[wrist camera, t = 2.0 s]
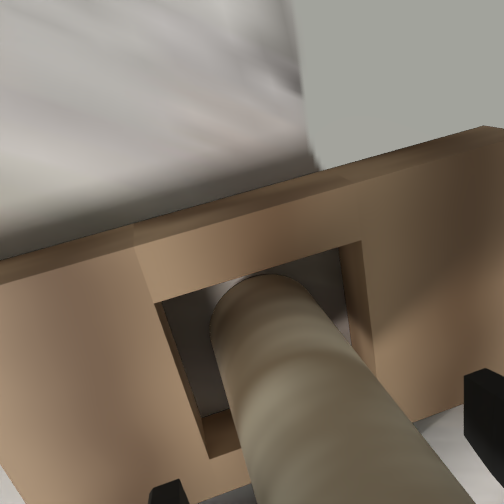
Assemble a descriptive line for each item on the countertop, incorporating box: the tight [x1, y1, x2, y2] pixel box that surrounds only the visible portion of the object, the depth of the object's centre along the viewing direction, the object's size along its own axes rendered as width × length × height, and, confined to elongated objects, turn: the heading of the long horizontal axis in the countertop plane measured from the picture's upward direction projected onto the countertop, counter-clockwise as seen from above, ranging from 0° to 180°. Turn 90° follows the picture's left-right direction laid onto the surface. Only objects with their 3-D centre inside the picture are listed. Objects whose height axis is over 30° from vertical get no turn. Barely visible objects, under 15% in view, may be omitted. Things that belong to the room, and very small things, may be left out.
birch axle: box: [209, 274, 476, 504], centre depth 12 cm, size 4×4×10 cm
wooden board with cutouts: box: [0, 126, 504, 504], centre depth 15 cm, size 18×10×2 cm, turn 102°
